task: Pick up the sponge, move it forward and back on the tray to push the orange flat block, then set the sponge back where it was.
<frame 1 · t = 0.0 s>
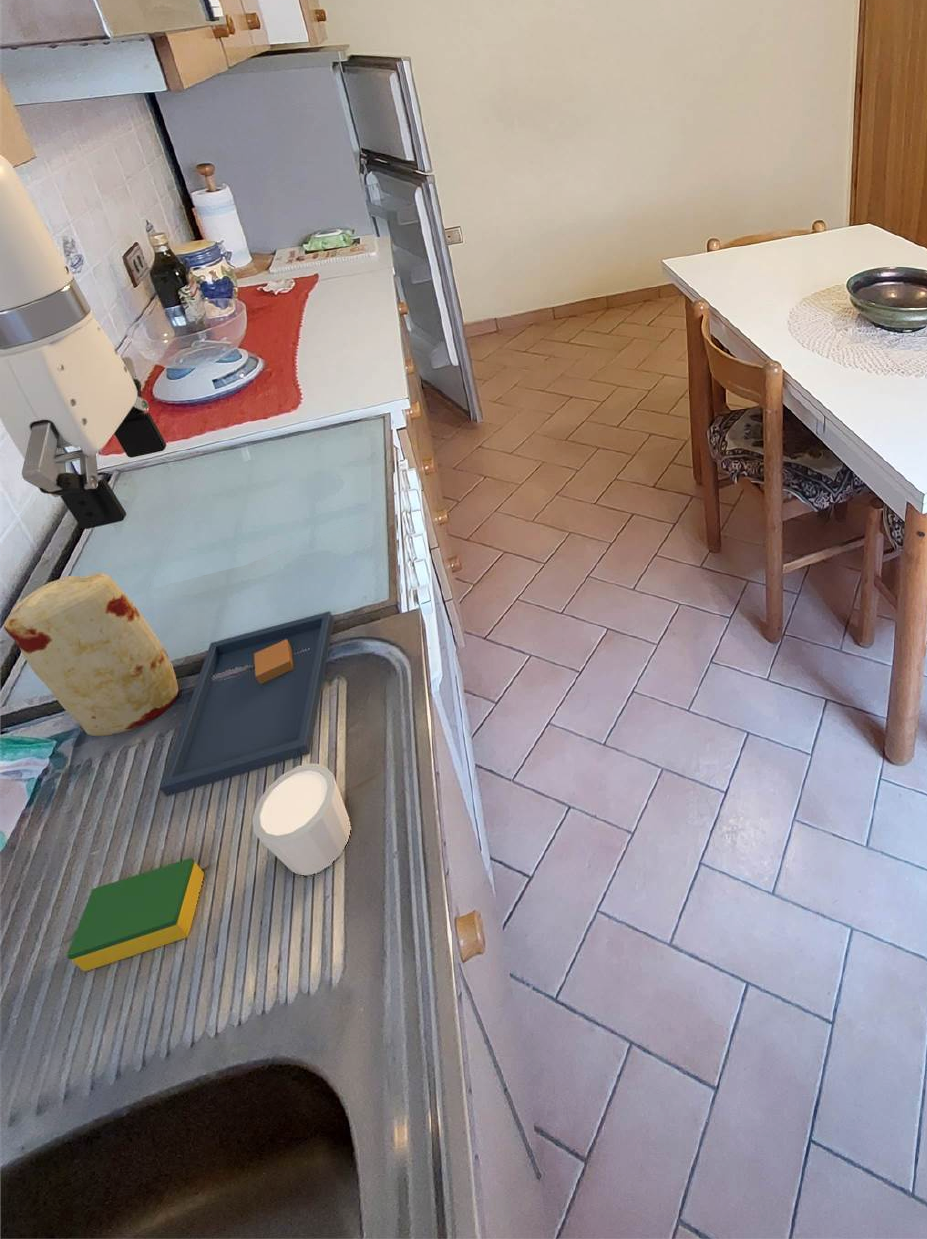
hand: (128, 485, 64), 33 cm above the worktop, tool pointing down, fingers open, 9 cm apart
orange flat block: (276, 665, 85), point 1 cm above the worktop, touching tray
white cylinder: (320, 843, 68), on the worktop
food model: (144, 713, 82), on the worktop
tray: (260, 701, 82), on the worktop
sponge: (147, 920, 64), on the worktop
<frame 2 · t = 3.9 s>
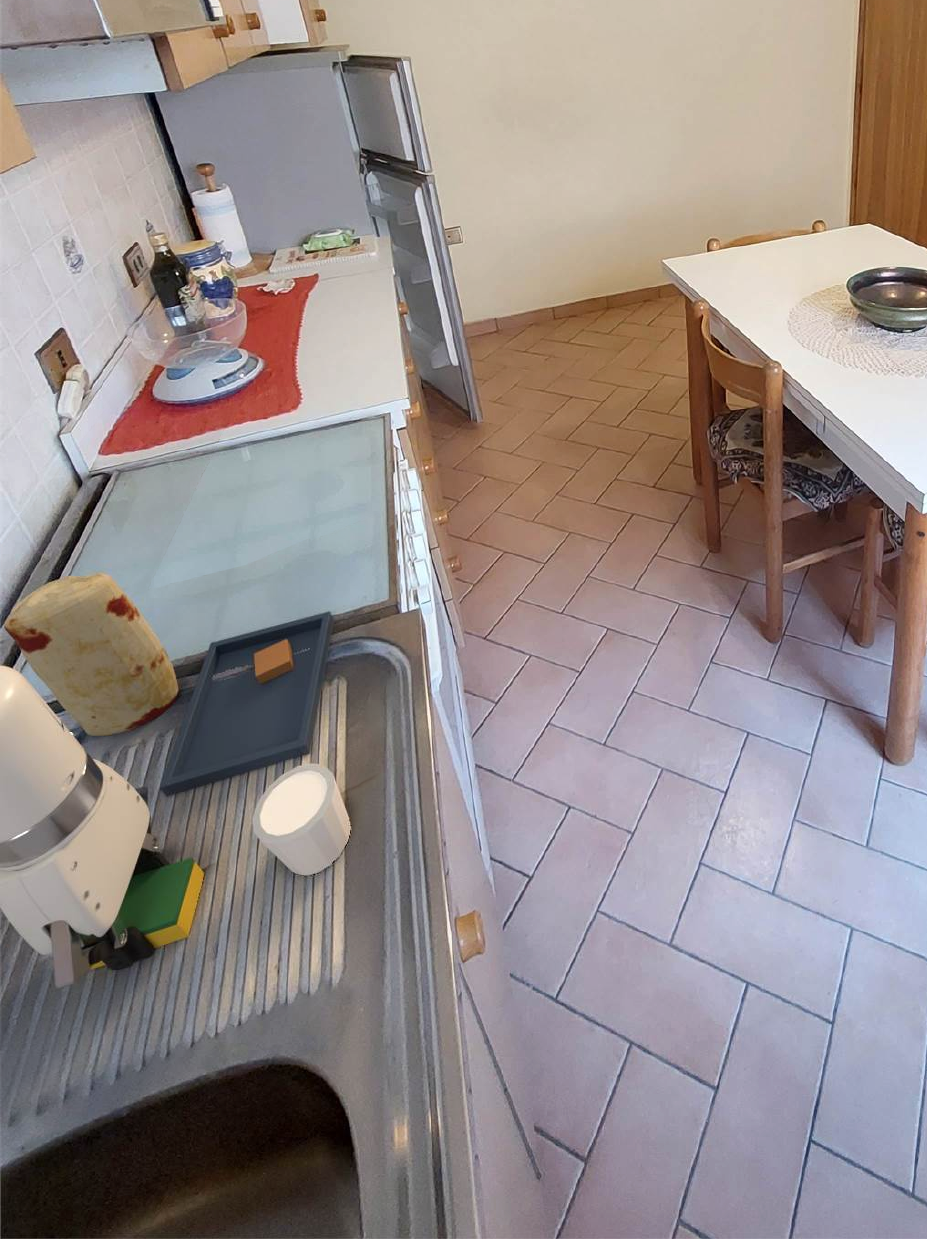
hand: (145, 918, 63), 0 cm above the worktop, tool pointing down, fingers closed on sponge, 5 cm apart
sponge: (147, 920, 64), on the worktop, touching gripper
everything else where it was.
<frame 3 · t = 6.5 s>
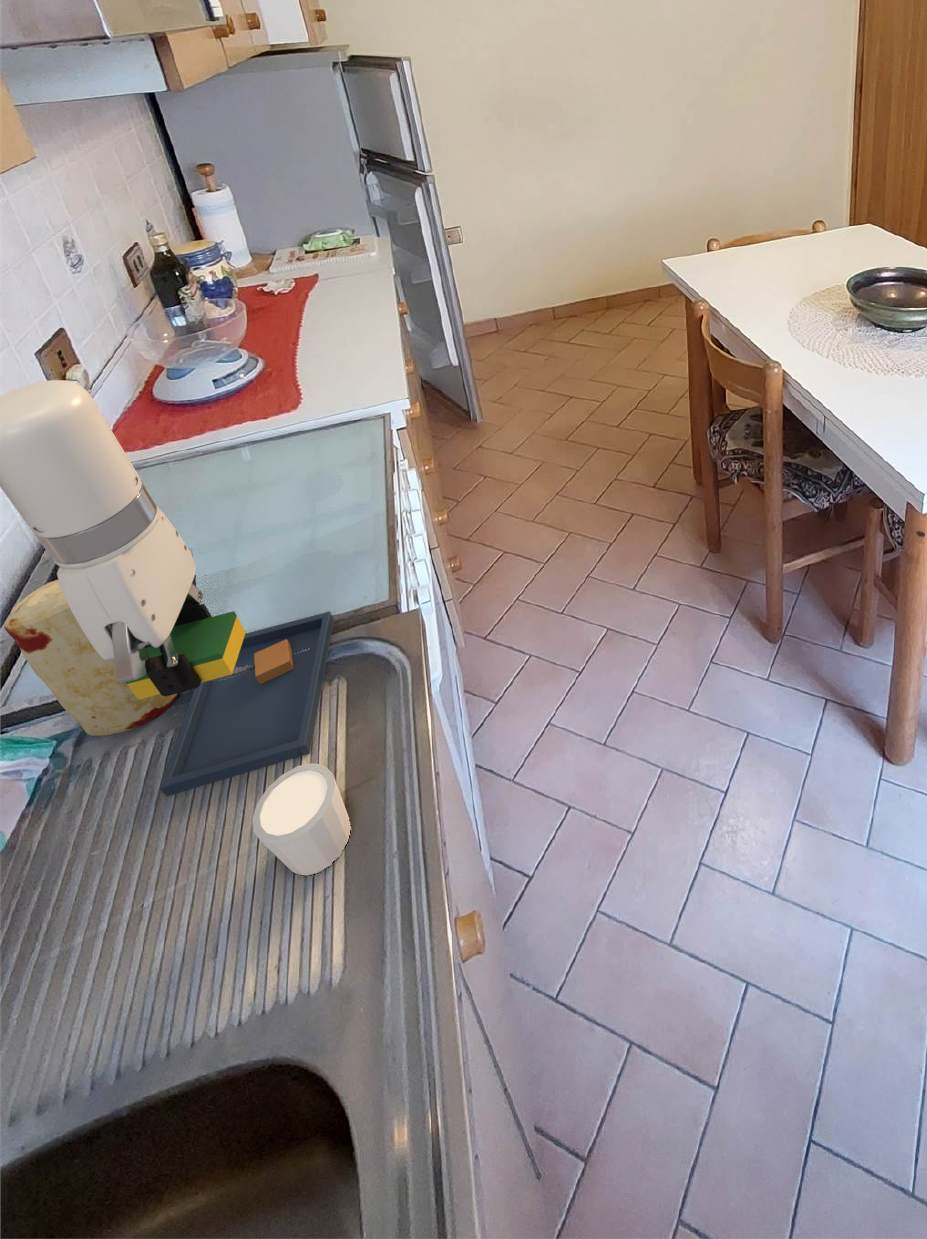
hand: (192, 661, 69), 15 cm above the worktop, tool pointing down, fingers closed on sponge, 5 cm apart
sponge: (194, 664, 69), point 15 cm above the worktop, touching gripper
everything else where it was.
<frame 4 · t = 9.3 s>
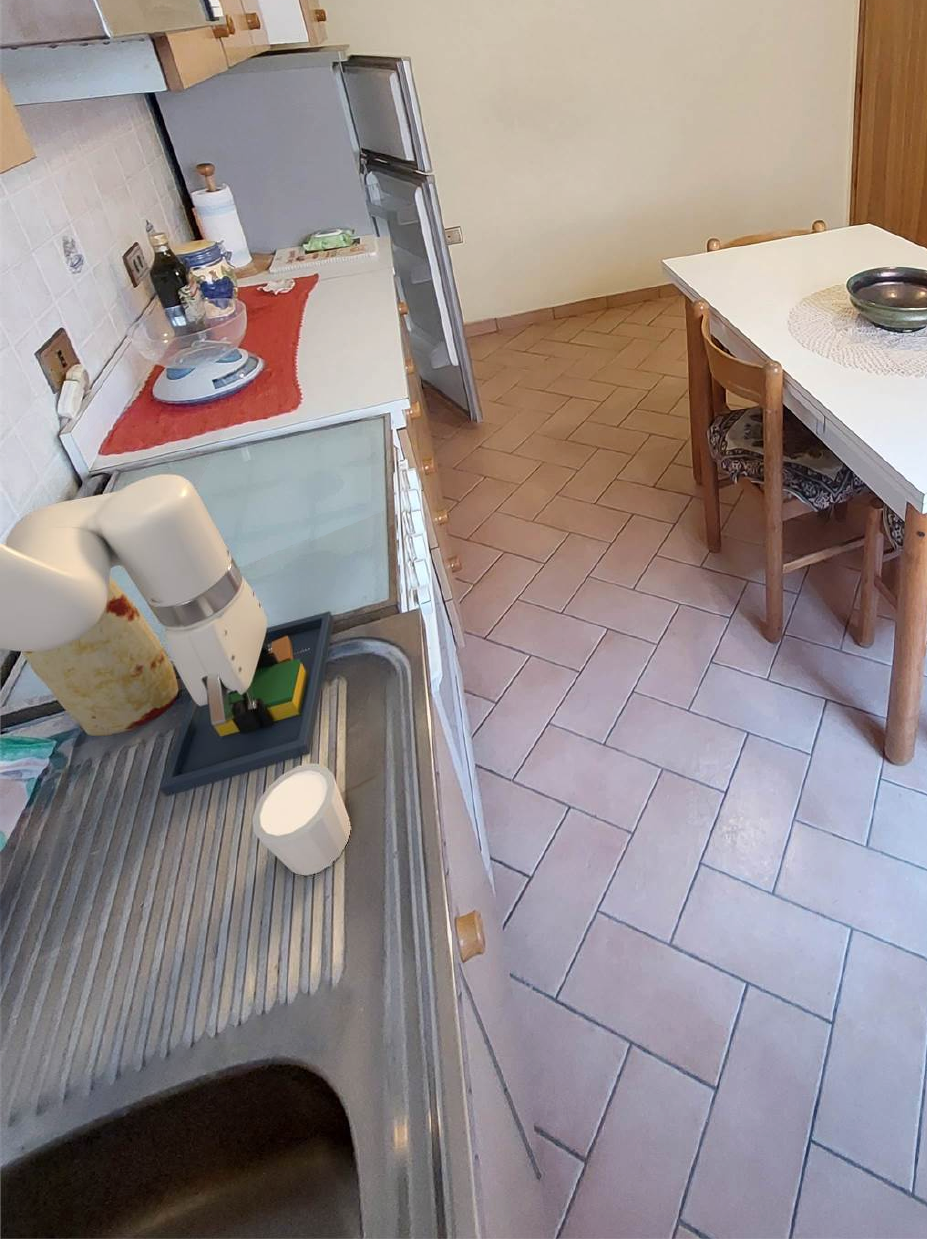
hand: (263, 702, 80), 1 cm above the worktop, tool pointing down, fingers closed on sponge, 5 cm apart
orange flat block: (276, 661, 85), point 1 cm above the worktop, touching gripper
sponge: (265, 704, 80), point 1 cm above the worktop, touching gripper
everything else where it was.
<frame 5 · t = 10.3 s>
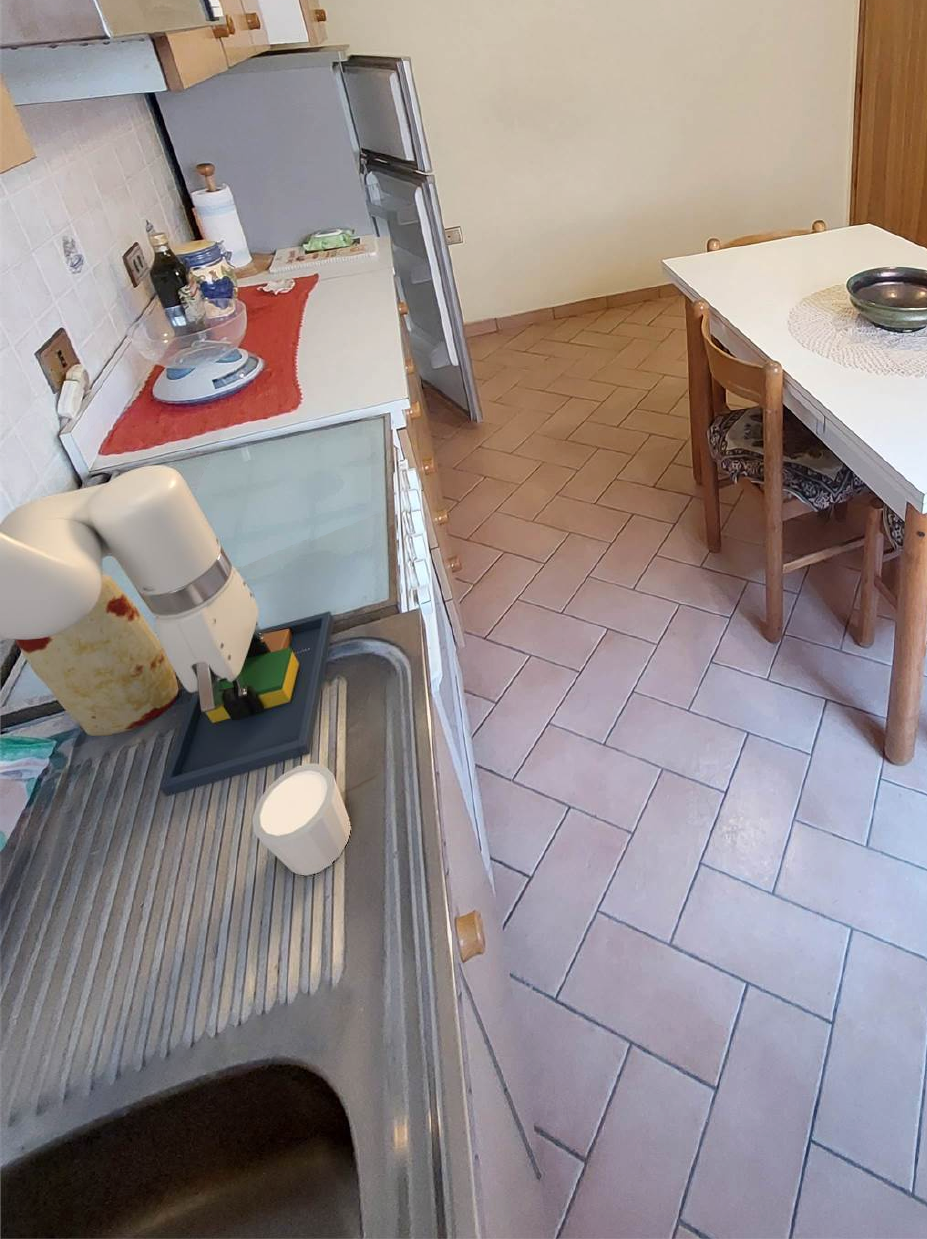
hand: (255, 690, 81), 1 cm above the worktop, tool pointing down, fingers closed on sponge, 5 cm apart
orange flat block: (273, 652, 87), point 1 cm above the worktop, touching gripper, tray
sponge: (257, 692, 82), point 1 cm above the worktop, touching gripper
everything else where it was.
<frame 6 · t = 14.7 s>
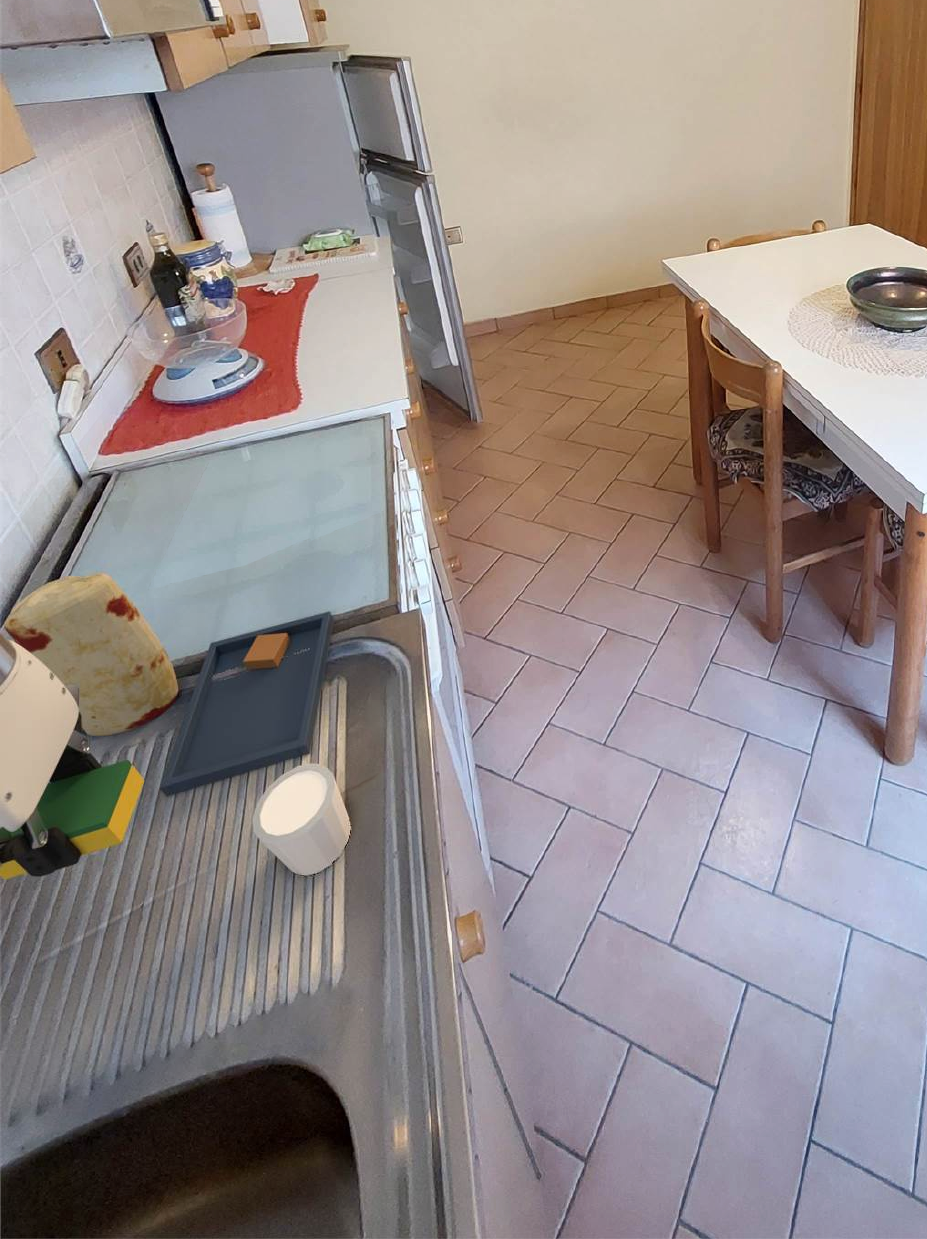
hand: (74, 825, 57), 14 cm above the worktop, tool pointing down, fingers closed on sponge, 5 cm apart
orange flat block: (269, 655, 86), point 1 cm above the worktop, touching tray
sponge: (78, 827, 58), point 14 cm above the worktop, touching gripper
everything else where it was.
when the fingers open (0 cm above the worktop, at t = 18.1 s): sponge stays where it is, on the worktop.
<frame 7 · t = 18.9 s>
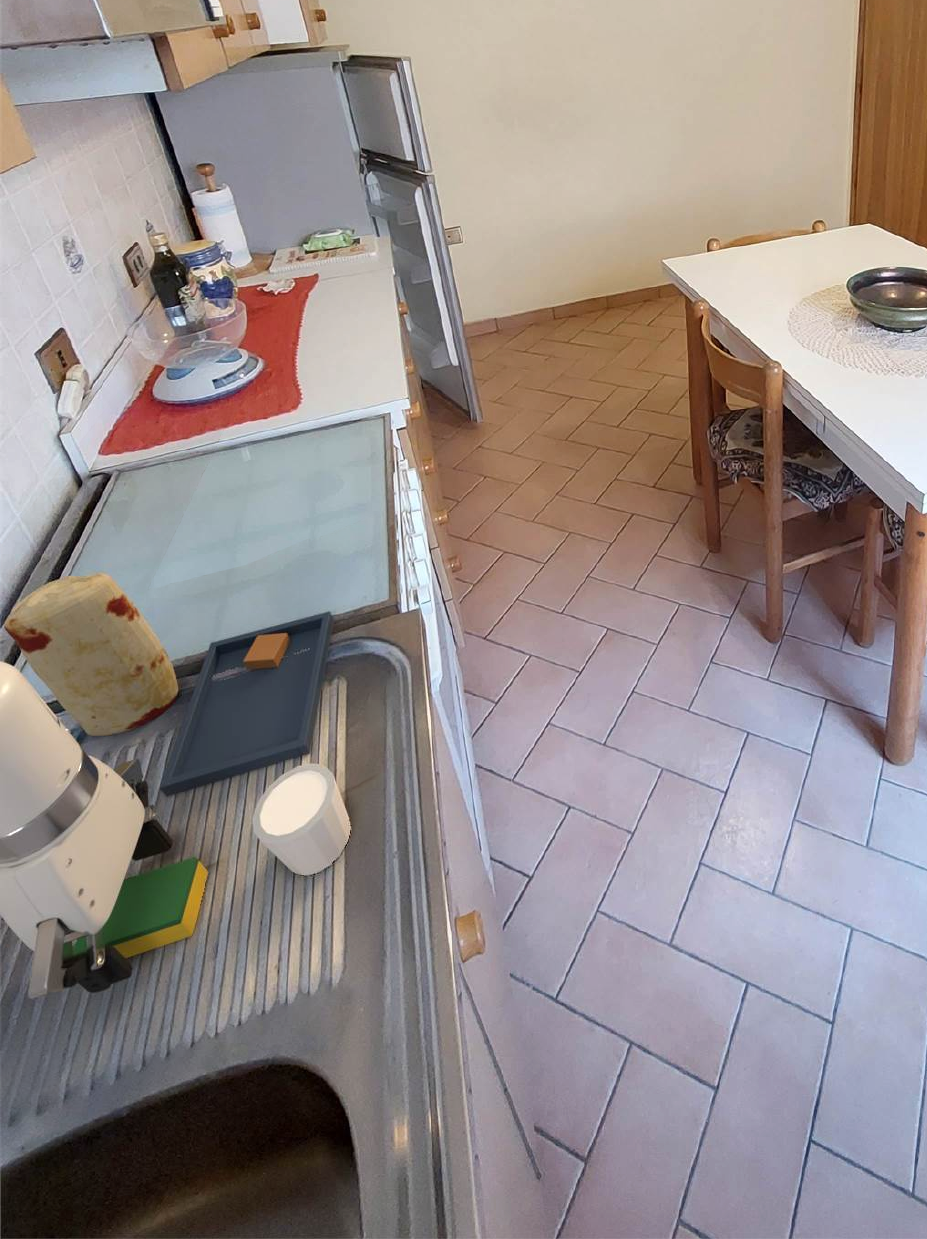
hand: (134, 911, 63), 2 cm above the worktop, tool pointing down, fingers open, 9 cm apart
sponge: (151, 919, 64), on the worktop
everything else where it was.
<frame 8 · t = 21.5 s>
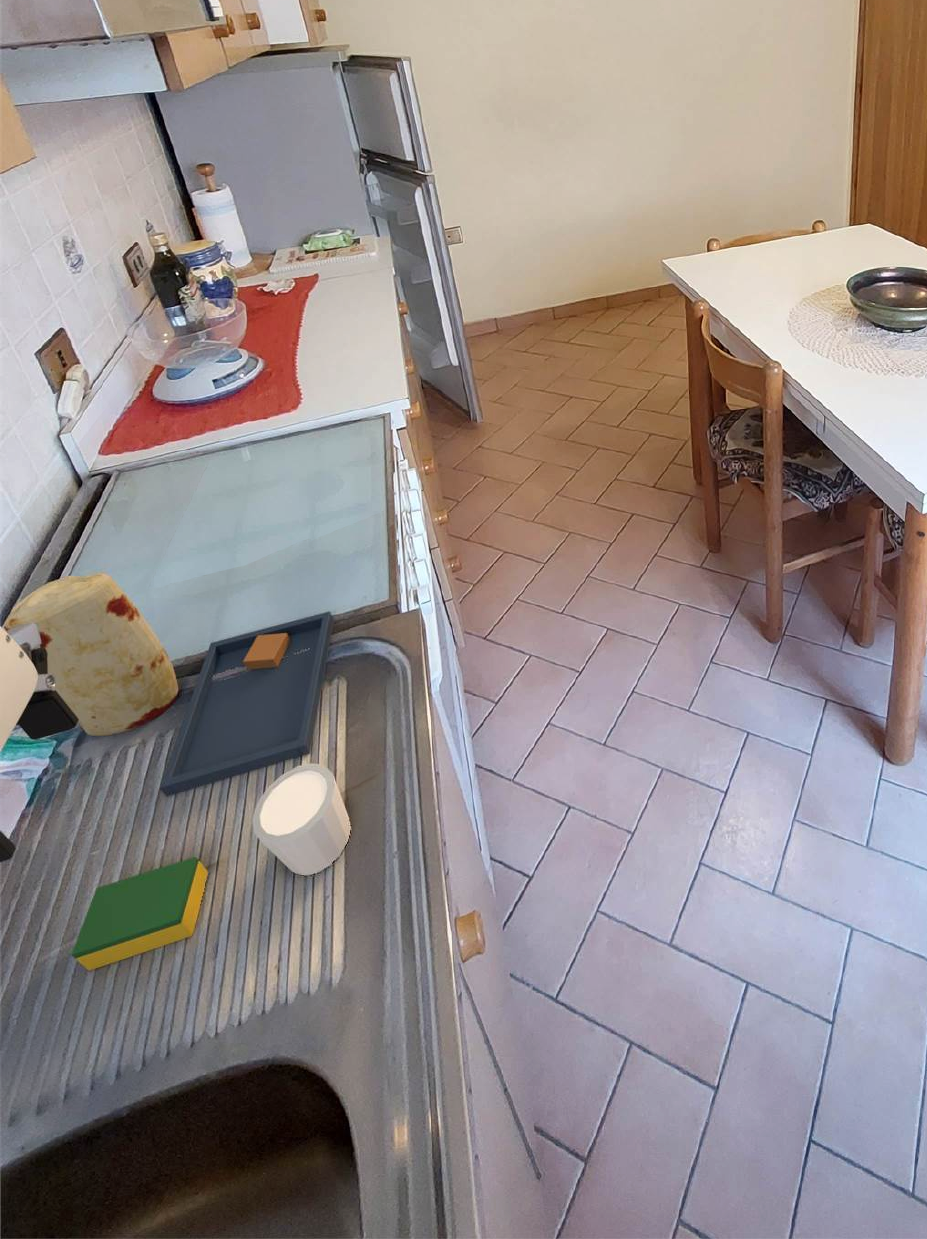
hand: (25, 790, 54), 20 cm above the worktop, tool pointing down, fingers open, 9 cm apart
nothing on the worktop moved.
at the end: orange flat block inside the target area in the tray (0.8 cm from its centre), point 0.6 cm above the tray's base; sponge inside the target area (0.4 cm from its centre), on the worktop; the gripper is holding nothing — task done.
